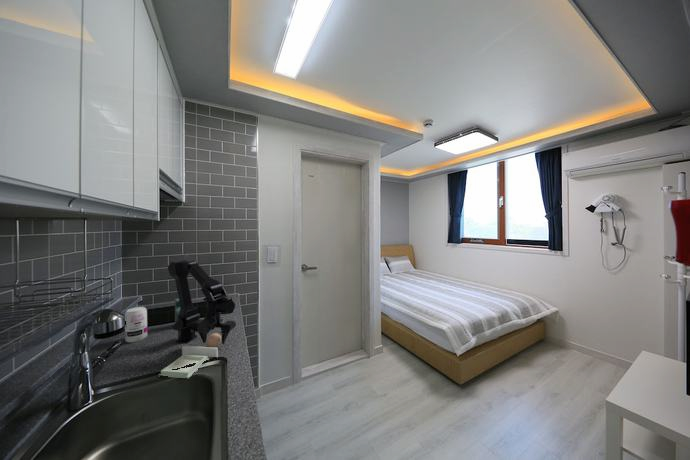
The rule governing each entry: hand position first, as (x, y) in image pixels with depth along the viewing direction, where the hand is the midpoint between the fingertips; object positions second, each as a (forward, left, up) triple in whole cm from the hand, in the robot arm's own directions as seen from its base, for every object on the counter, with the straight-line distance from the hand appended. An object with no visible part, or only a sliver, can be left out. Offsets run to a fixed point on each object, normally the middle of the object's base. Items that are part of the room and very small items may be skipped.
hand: (214, 343), depth 108 cm
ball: (0, 0, -2) cm, 2 cm away
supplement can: (-43, +3, -2) cm, 43 cm away
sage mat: (-1, -16, -2) cm, 16 cm away
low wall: (-1, -8, -2) cm, 8 cm away
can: (-33, +20, -2) cm, 39 cm away
